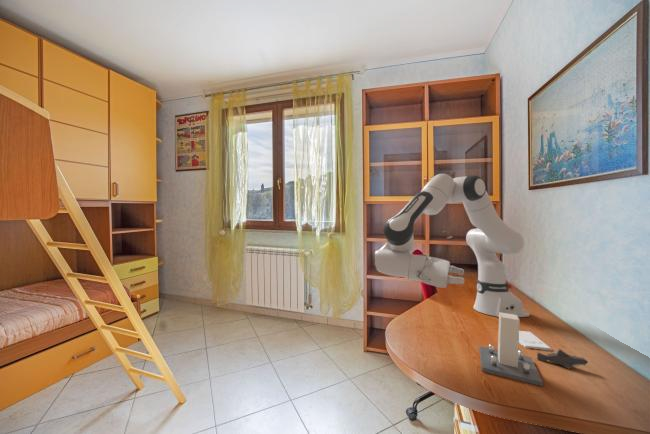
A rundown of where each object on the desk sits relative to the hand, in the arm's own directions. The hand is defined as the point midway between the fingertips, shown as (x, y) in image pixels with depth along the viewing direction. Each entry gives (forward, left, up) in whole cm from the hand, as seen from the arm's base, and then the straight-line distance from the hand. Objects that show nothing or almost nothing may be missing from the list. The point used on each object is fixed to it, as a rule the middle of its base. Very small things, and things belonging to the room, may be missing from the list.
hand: (464, 276), depth 87 cm
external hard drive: (-30, -9, -26) cm, 41 cm away
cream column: (-10, +7, -24) cm, 27 cm away
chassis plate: (-10, +7, -25) cm, 28 cm away
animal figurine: (-28, +6, -26) cm, 38 cm away
